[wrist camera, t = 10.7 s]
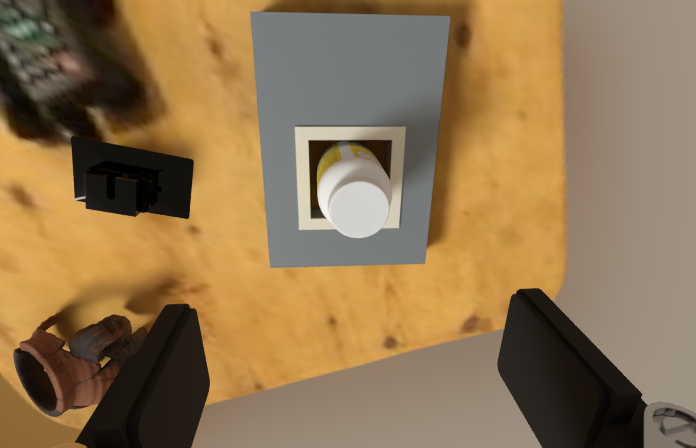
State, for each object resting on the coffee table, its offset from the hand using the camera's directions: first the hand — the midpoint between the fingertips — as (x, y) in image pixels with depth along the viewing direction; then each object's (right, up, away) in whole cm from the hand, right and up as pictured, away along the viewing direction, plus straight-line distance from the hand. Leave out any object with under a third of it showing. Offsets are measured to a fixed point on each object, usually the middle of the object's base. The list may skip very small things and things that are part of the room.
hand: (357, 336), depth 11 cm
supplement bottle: (0, +8, +22) cm, 24 cm away
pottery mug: (-25, -8, +27) cm, 37 cm away
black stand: (-19, +7, +22) cm, 29 cm away
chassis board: (0, +10, +21) cm, 23 cm away
